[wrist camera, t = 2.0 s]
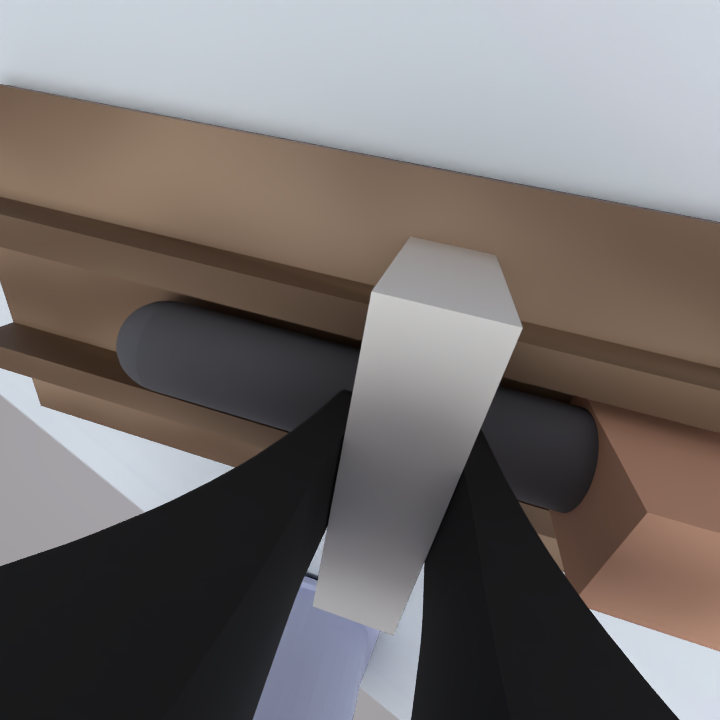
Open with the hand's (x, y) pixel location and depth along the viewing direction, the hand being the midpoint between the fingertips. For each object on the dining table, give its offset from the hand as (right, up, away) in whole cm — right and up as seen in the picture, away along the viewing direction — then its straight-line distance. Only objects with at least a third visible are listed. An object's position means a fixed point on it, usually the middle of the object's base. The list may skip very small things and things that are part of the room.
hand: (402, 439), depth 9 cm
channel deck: (-2, +3, +5) cm, 6 cm away
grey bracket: (+1, +1, +2) cm, 3 cm away
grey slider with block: (0, +1, +2) cm, 3 cm away
